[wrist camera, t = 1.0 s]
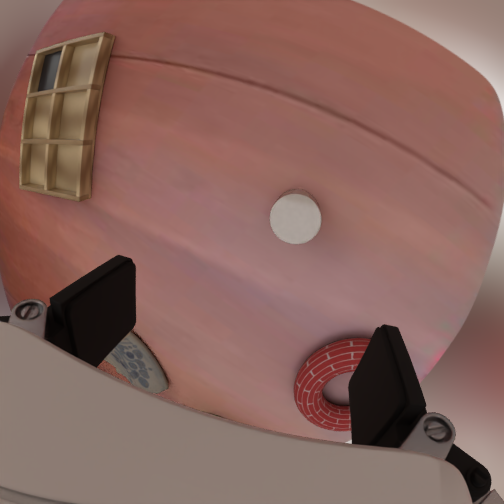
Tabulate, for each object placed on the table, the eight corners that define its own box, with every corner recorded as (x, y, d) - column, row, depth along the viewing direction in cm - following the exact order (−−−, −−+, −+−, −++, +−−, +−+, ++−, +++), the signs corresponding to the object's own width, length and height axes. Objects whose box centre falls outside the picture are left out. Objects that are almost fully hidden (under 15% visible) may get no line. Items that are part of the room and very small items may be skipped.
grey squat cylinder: (278, 184, 27) (275, 188, 24) (324, 195, 26) (326, 201, 23) (269, 228, 28) (264, 238, 25) (313, 239, 28) (314, 249, 25)
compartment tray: (46, 52, 25) (36, 50, 23) (115, 36, 24) (104, 31, 22) (29, 185, 33) (19, 188, 31) (90, 198, 31) (79, 201, 29)
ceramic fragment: (88, 343, 38) (123, 340, 34) (100, 332, 41) (137, 328, 36) (124, 395, 40) (165, 399, 36) (134, 383, 43) (175, 385, 39)
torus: (389, 413, 34) (392, 432, 31) (295, 417, 37) (292, 436, 34) (413, 327, 29) (421, 346, 26) (293, 332, 32) (291, 352, 29)
